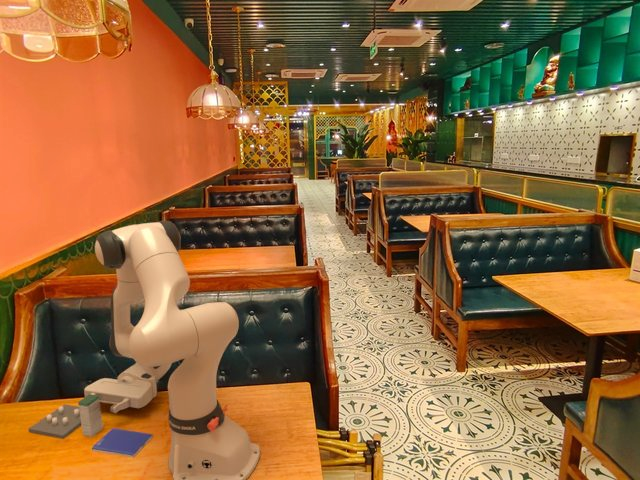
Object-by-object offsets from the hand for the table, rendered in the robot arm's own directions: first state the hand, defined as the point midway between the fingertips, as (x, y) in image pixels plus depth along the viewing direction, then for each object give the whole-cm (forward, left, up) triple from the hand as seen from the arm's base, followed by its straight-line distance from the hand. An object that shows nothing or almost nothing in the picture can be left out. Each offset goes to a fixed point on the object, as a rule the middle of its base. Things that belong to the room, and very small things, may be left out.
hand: (98, 408), depth 119 cm
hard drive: (-12, +5, -6) cm, 14 cm away
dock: (+12, +1, -5) cm, 13 cm away
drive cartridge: (0, +3, -5) cm, 6 cm away
